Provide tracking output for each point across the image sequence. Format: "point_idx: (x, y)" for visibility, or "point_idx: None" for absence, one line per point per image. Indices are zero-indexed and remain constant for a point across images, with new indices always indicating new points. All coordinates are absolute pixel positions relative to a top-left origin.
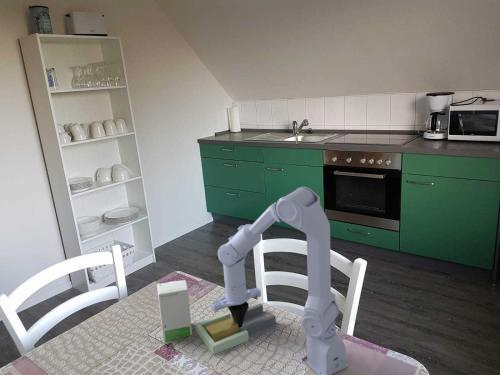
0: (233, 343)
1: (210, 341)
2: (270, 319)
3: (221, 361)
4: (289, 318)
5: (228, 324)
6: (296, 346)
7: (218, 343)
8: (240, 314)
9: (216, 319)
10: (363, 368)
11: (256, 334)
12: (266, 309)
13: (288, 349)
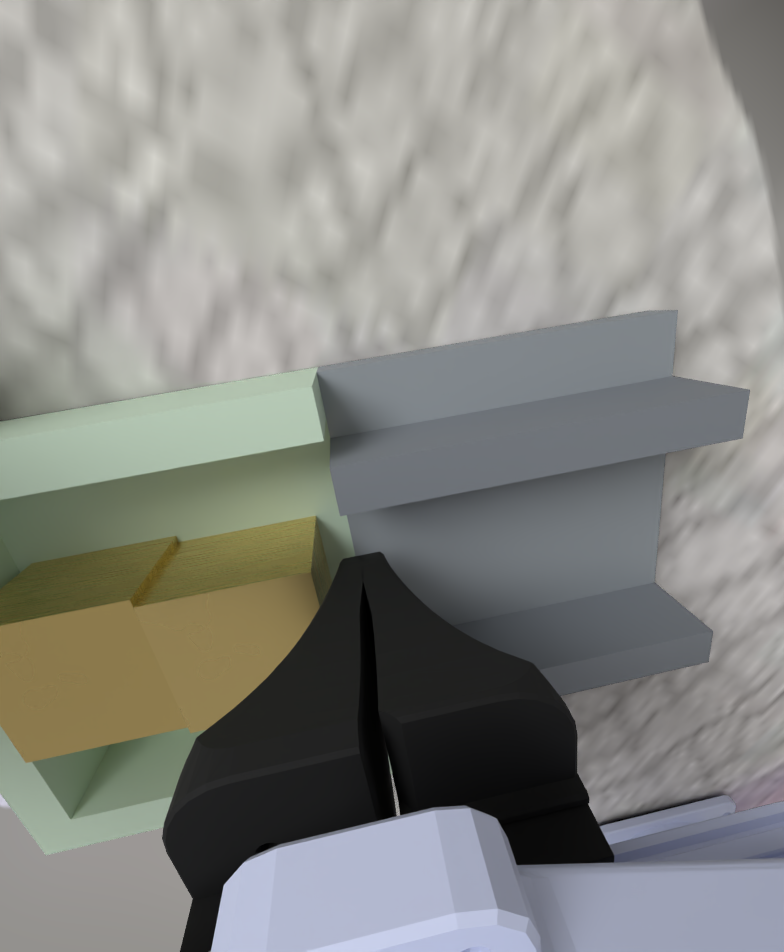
0: None
1: (24, 804)
2: (647, 666)
3: None
4: (774, 522)
5: (242, 668)
6: (618, 762)
7: (105, 834)
8: (393, 796)
9: (120, 473)
10: None
11: None
12: (727, 311)
13: None
